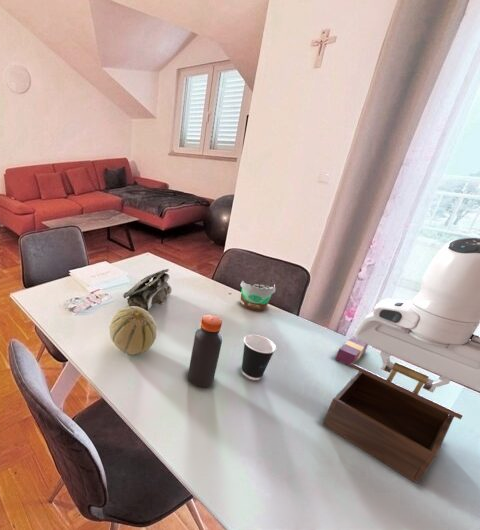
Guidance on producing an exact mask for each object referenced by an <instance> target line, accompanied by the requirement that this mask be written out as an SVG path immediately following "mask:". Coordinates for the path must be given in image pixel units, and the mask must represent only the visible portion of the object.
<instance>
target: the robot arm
mask: <svg viewBox="0 0 480 530" xmlns="http://www.w3.org/2000/svg"><path fill="white" fill-rule="evenodd" d="M427 267H428V268H427V269H426V271H425V273H424V275H423V276H422V279H421V284H420V285H421V286H420V289H419V291H418V292H417V293H416V294H415V295H414V296H413V297H412V299H411V300H404V299H403V300H402V299H392V298H385V299H383V300H380V301H379V302H377V304H375V306H374V307H373V309H372V311H371V312H370V313H368V314H367V315H366V316H365V317H363V319H362V320H361V321H360V322H359V324H358V325H357V327H356V328H355V330H354V332H353V336H354V337H355V338H356V340H358V341H360V342H363V343H365V344H368V346H370V347H372V348H375V349H377V350H380V353H379V354H380V358H381V362H382V363H383V364H382V366H381V368H380V370H382V371H384V372H386V373H388V374H390V373H391V371H392V367H393V365H394V364H395V362H392V361H391V358H390V356H394V357H396V358H397V359H398V358H399V359H401V360H404V361H406V362H407V363H410V364H413V365H415V366H417V367H419V368H422V369H424V370H426V371H429V372H432V373H434V374H436V375H439V377H438V378H436V379H434V380H433V379H432V378H430V377H429V378H428V380H427V381H426V383H425V384H423V386H422V389H424V390H426V391H428V392H430V393H434V391H435V390H436V389H437V388H438V387H439V388H440V387H442V386H445V385H449V384H450V382H451V381H453V382H456V383H459V384H460V385H463V386H465V387H467V388H470V389H472V390H474V391H476V392H479V393H480V336H479V335H476V334H475V332H476V330H477V329H478V327H479V325H480V237H479V238H478V237H463V238H458V239H457V238H456V239H453V240H450V241H449V242H447V243H446V244H445V245H443V247H442V248H441V249H440V250H439V251H438V252H437V253H436V255H435V256H434V258H433V259H432V261H431V262H430V264H429V265H428V266H427Z"/></svg>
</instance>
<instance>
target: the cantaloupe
mask: <svg viewBox="0 0 480 530" xmlns="http://www.w3.org/2000/svg"><path fill="white" fill-rule="evenodd" d="M109 335H110V340H111V341H112V343H113V344H114V346H115V347H116V348H117V349H118V350H119V351H121V352H123V353H125V354H128V355H133V356H134V355H139V354H143V353H145V352H147V351H148V350H149V349H150V348H151V347H152V346H153V345H154V343H155V340H156V338H157V337H156V336H157V323H156V321H155V319H154V318H153V316H152V315H151V313H150V312H149V310H148V311H146V310H145V309H143V308H140V307H137V306H125V307H122V308H120V309H119V310H117V312H116V313H115V314H114V315H113V317H112V319H111V321H110V324H109Z"/></svg>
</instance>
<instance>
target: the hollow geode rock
mask: <svg viewBox="0 0 480 530" xmlns="http://www.w3.org/2000/svg"><path fill="white" fill-rule="evenodd" d="M169 271H170V269H168V268H166V269H162V270H159V271H157V272H155V273H153V274H149V275H146V276H145V277H143V278H142V279H141V280H140V281H139V282H137V283H135V284H134V286H133V287H131V288H130V289H129V290H128V291H127V292H124V293H123V295H122V297H123V298H124V299H126V300H127V305H128V307H130V306H137V307H140V308H143V309H145V310H146V311H148V312H149V310H150V309H151V308H152V306H153V305H156V304H158V305H160V306H162V305H165V304H166V303H167V300H168V297H169V296H170V295H171V294H172V291H173V288H172V286H171V285H170V284H169V283H168V281H169V280H170V275H169V274H168V272H169Z"/></svg>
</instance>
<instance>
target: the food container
mask: <svg viewBox="0 0 480 530" xmlns="http://www.w3.org/2000/svg"><path fill="white" fill-rule="evenodd" d="M239 285H240V287H241V289H240V290H241V291H240V299H239V302H240V305H241V306H242V307H243V308H245V309H247V310H250V311H253V312H262V311H263V312H264V311H265V310H266V309H267V308H268V307H267V306H268V304H269V302H270V300H271V297H272V295H273V294H274V293H276V283H275V284H273V285H266V284H263V283H249V282H245V281H244V280H242V281H241V282H240V284H239Z"/></svg>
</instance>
